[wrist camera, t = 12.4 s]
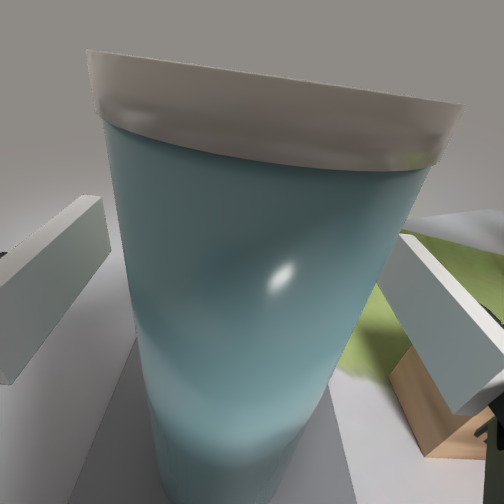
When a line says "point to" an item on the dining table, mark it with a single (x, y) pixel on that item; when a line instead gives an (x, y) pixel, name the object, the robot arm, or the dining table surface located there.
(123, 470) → the mat
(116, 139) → the jar
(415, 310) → the robot arm
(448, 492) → the dining table surface
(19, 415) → the dining table surface
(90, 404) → the dining table surface
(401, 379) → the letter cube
